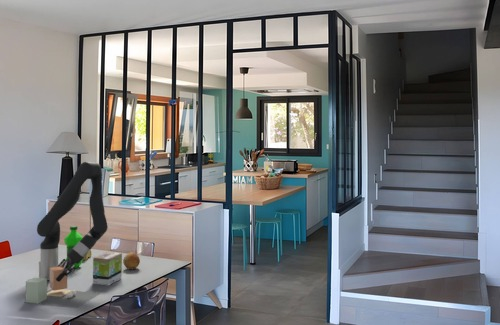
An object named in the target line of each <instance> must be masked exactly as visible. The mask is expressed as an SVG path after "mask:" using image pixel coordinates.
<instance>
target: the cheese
mask: <svg viewBox="0 0 500 325" xmlns="http://www.w3.org/2000/svg"><path fill="white" fill-rule="evenodd" d="M88 257H89V258H91V257H92V248H91V249H90V251H89V252H88V253H87V255H86V256H85V257H84V258H83V259H82V261H87V260H89V258H88Z"/></svg>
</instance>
